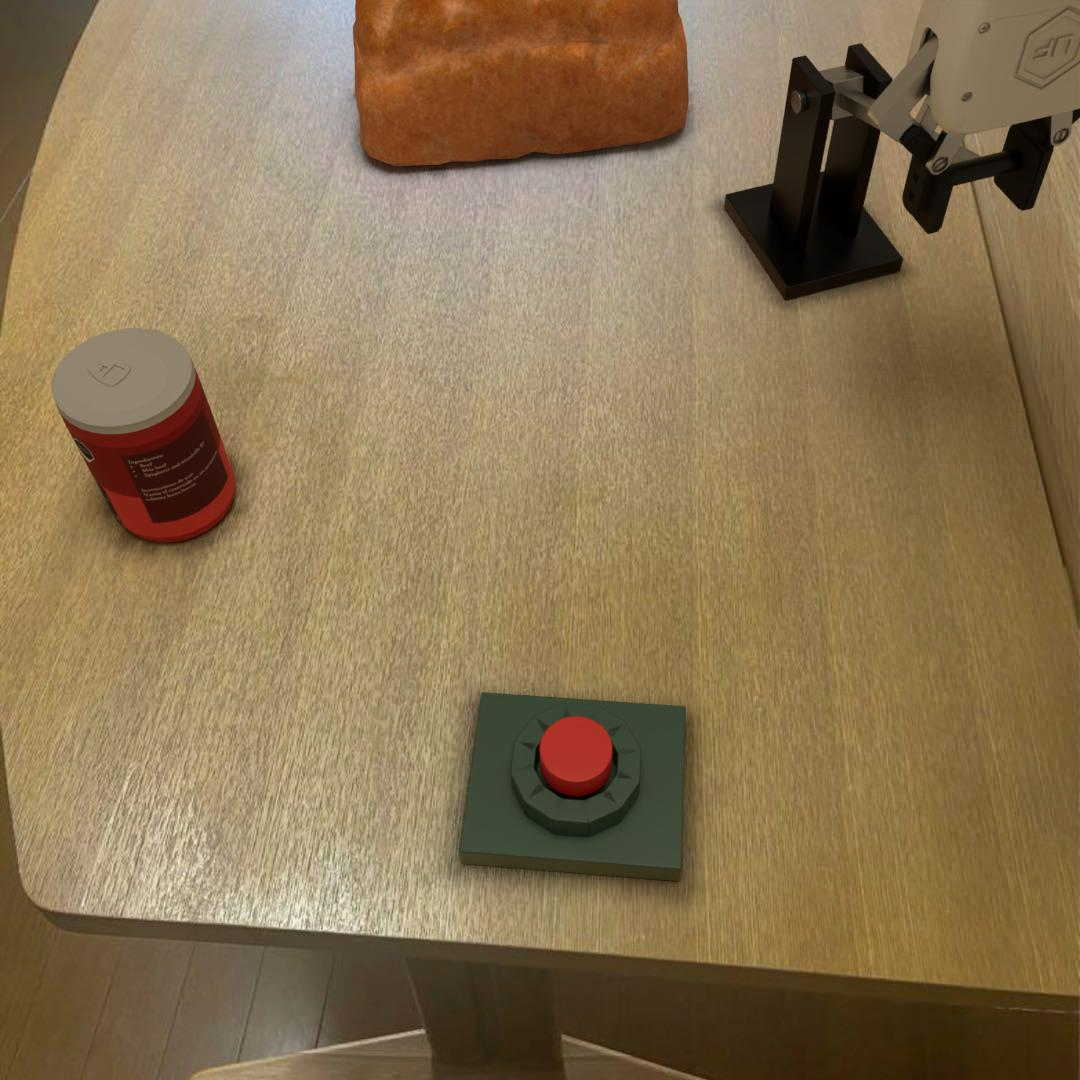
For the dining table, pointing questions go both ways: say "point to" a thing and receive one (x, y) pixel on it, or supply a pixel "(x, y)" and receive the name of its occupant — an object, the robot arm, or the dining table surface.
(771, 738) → the dining table surface
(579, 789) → the button
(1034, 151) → the robot arm
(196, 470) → the canned food
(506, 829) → the button box
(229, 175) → the dining table surface
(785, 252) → the bracket
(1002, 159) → the lever
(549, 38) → the bread
